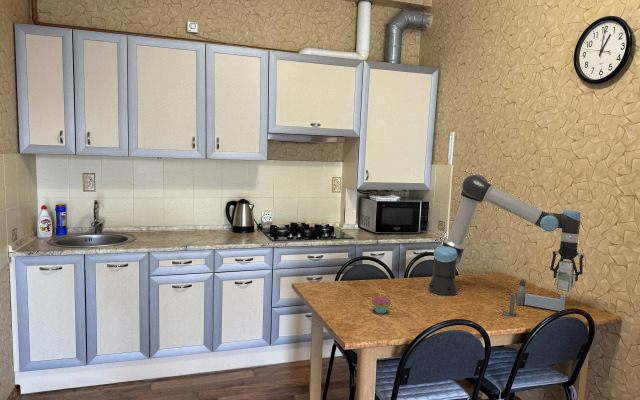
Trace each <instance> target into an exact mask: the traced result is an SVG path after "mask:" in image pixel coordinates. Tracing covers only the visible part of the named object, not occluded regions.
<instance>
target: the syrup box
mask: <svg viewBox="0 0 640 400" xmlns="http://www.w3.org/2000/svg"><path fill="white" fill-rule="evenodd" d="M558 262H559V261H558ZM557 272H558V281H557V285H556V290H558V291H563V292H567V293H570V292H572V290H573V288H572V283H573V274H575V271H574V268H573V263H572V261H570V260H569V261H567V260H563V261H562V262H559V269H558V270H557Z"/></svg>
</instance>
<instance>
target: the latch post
mask: <svg viewBox="0 0 640 400" xmlns="http://www.w3.org/2000/svg"><path fill="white" fill-rule="evenodd" d="M515 301H516V293H513V292H511V293H510V301H509V311H507V310H502V313H501V315H502V316H506V317H511V318H514V317H515V312H514V311H515V303H516V302H515Z"/></svg>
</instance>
